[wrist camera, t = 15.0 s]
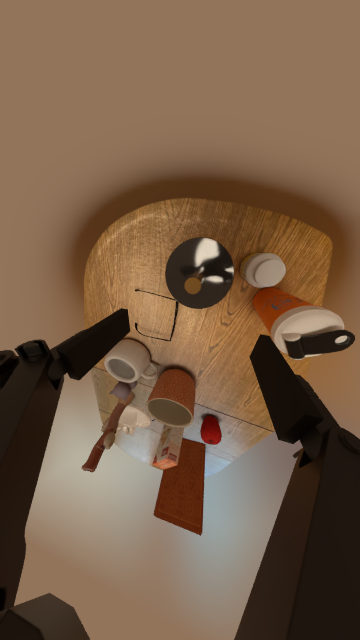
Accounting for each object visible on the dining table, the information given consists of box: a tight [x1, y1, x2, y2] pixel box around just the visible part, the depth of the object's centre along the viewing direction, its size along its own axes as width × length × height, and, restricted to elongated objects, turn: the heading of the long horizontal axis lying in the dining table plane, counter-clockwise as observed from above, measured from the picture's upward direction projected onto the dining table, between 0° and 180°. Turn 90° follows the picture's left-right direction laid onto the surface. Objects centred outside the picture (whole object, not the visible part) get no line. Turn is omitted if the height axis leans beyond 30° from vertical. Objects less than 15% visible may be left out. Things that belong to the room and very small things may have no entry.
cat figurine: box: [110, 380, 137, 402], centre depth 59 cm, size 8×8×12 cm
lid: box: [165, 237, 234, 309], centre depth 24 cm, size 14×14×9 cm
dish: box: [117, 404, 151, 435], centre depth 80 cm, size 25×25×11 cm
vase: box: [82, 391, 134, 472], centre depth 61 cm, size 11×7×30 cm
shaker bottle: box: [253, 287, 355, 360], centre depth 27 cm, size 9×9×20 cm
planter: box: [146, 369, 195, 427], centre depth 52 cm, size 17×17×15 cm
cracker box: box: [153, 424, 184, 470], centre depth 63 cm, size 14×6×21 cm, turn 151°
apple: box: [201, 416, 222, 445], centre depth 62 cm, size 10×10×11 cm
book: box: [154, 438, 205, 535], centre depth 73 cm, size 23×8×30 cm, turn 91°
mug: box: [105, 339, 158, 383], centre depth 53 cm, size 21×17×10 cm
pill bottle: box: [239, 253, 286, 288], centre depth 28 cm, size 6×6×12 cm
